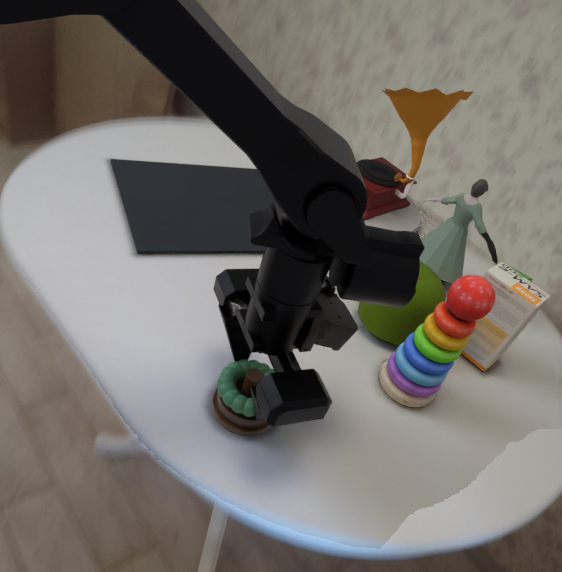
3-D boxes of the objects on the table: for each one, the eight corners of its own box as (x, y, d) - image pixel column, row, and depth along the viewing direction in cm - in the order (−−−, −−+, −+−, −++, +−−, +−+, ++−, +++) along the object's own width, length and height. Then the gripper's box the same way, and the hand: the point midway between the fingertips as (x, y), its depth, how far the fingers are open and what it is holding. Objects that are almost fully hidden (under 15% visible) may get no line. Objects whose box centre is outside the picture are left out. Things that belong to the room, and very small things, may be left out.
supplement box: (497, 360, 78) (553, 296, 68) (482, 373, 75) (539, 307, 65) (455, 326, 80) (503, 259, 71) (439, 337, 78) (487, 269, 68)
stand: (221, 440, 55) (232, 408, 51) (203, 386, 60) (212, 351, 55) (285, 430, 59) (300, 398, 54) (263, 379, 63) (276, 346, 58)
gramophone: (436, 228, 100) (512, 96, 81) (371, 253, 88) (444, 105, 69) (362, 172, 107) (416, 39, 89) (293, 188, 95) (340, 38, 77)
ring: (226, 425, 53) (230, 414, 52) (207, 370, 58) (210, 358, 56) (292, 415, 57) (297, 405, 55) (269, 363, 61) (273, 352, 59)
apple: (430, 355, 74) (470, 299, 66) (364, 352, 71) (397, 293, 63) (404, 302, 81) (438, 246, 73) (342, 297, 78) (370, 238, 70)
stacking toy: (365, 381, 67) (434, 269, 54) (395, 354, 72) (465, 246, 59) (414, 420, 65) (498, 313, 51) (441, 390, 70) (524, 285, 56)
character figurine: (479, 300, 87) (547, 208, 74) (454, 315, 82) (522, 219, 69) (411, 245, 93) (462, 151, 80) (383, 256, 88) (433, 157, 75)
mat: (137, 253, 72) (137, 251, 71) (110, 161, 85) (110, 158, 84) (334, 253, 85) (335, 250, 84) (285, 173, 98) (285, 170, 98)
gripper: (410, 354, 44) (346, 451, 55) (326, 222, 54) (286, 327, 65) (294, 367, 39) (249, 469, 50) (226, 220, 49) (201, 333, 61)
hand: (249, 391), depth 57 cm, fingers closed on ring, 7 cm apart
